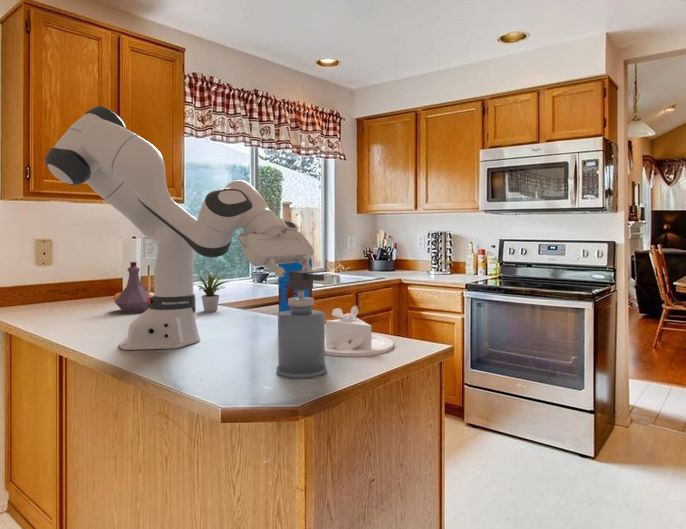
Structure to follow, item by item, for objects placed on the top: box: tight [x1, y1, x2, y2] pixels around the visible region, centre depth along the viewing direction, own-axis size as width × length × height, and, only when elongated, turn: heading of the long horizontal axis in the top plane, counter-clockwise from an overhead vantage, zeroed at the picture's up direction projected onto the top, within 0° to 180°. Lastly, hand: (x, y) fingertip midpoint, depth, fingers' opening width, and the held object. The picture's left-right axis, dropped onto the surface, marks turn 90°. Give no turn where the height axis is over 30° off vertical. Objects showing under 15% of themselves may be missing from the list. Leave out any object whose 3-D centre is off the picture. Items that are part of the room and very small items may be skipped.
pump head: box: [289, 270, 325, 298], centre depth 118 cm, size 8×4×6 cm, turn 52°
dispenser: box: [275, 297, 328, 380], centre depth 120 cm, size 12×12×18 cm
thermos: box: [277, 257, 313, 313], centre depth 164 cm, size 11×11×25 cm
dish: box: [325, 305, 395, 357], centre depth 147 cm, size 25×25×11 cm
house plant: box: [196, 271, 230, 313], centre depth 206 cm, size 14×14×16 cm
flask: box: [114, 261, 152, 314], centre depth 208 cm, size 16×16×20 cm
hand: (296, 273), depth 121 cm, fingers open, 8 cm apart
